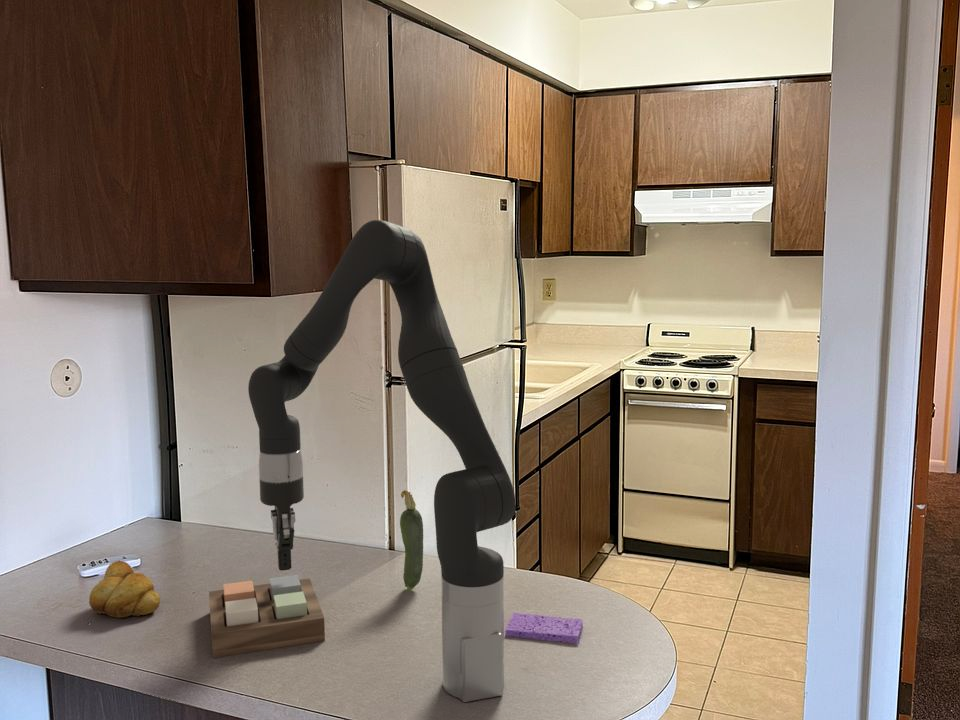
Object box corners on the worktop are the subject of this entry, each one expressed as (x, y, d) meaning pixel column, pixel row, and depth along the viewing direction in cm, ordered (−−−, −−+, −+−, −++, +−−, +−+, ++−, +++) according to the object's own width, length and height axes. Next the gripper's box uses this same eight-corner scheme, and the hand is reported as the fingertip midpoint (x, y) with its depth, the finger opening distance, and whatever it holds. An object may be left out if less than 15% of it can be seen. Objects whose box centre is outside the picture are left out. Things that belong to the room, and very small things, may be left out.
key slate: (301, 601, 152) (300, 584, 151) (272, 605, 150) (271, 588, 150) (298, 590, 156) (297, 574, 156) (270, 594, 155) (269, 578, 154)
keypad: (324, 640, 143) (324, 617, 142) (212, 657, 137) (211, 634, 137) (310, 598, 160) (309, 578, 159) (210, 612, 154) (208, 591, 154)
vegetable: (426, 586, 165) (424, 486, 162) (422, 595, 161) (420, 493, 158) (403, 586, 165) (401, 486, 163) (399, 595, 161) (397, 492, 158)
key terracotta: (255, 607, 149) (254, 591, 149) (225, 611, 148) (224, 595, 147) (253, 596, 154) (252, 580, 153) (224, 600, 152) (223, 584, 152)
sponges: (577, 647, 141) (578, 636, 141) (503, 638, 144) (503, 628, 144) (583, 628, 148) (583, 618, 148) (512, 621, 151) (512, 611, 151)
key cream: (258, 626, 142) (257, 609, 141) (227, 631, 140) (226, 613, 140) (256, 614, 146) (255, 597, 146) (226, 618, 145) (225, 601, 144)
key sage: (307, 619, 144) (306, 602, 144) (277, 623, 143) (276, 606, 142) (303, 607, 149) (302, 591, 148) (274, 611, 147) (273, 595, 147)
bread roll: (172, 607, 157) (170, 565, 156) (130, 629, 148) (127, 585, 147) (122, 595, 162) (119, 555, 161) (78, 615, 154) (75, 573, 152)
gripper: (307, 483, 145) (310, 579, 148) (298, 463, 158) (301, 553, 160) (262, 487, 143) (266, 585, 145) (256, 467, 155) (260, 558, 158)
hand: (284, 568), depth 153 cm, fingers closed
